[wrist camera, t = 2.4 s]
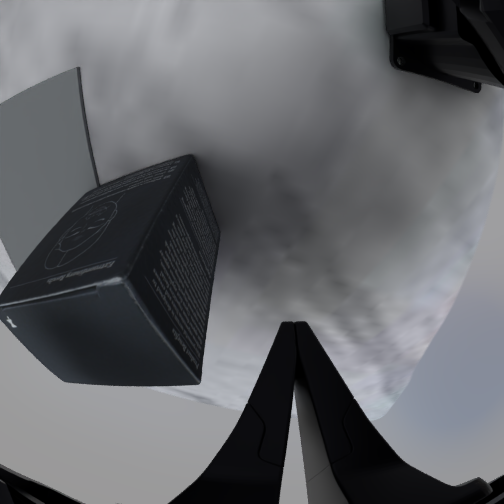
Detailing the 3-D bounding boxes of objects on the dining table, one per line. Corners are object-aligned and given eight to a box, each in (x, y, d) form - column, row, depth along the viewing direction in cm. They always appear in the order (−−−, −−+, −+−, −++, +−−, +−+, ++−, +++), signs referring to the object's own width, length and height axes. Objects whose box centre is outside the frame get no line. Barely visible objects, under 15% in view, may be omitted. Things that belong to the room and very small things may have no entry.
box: (122, 257, 19) (63, 385, 11) (86, 189, 16) (-13, 305, 7) (224, 234, 18) (203, 390, 9) (195, 150, 15) (120, 279, 6)
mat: (79, 67, 11) (76, 67, 11) (142, 314, 23) (142, 316, 23) (-32, 125, 12) (-34, 126, 12) (36, 301, 24) (35, 303, 24)
